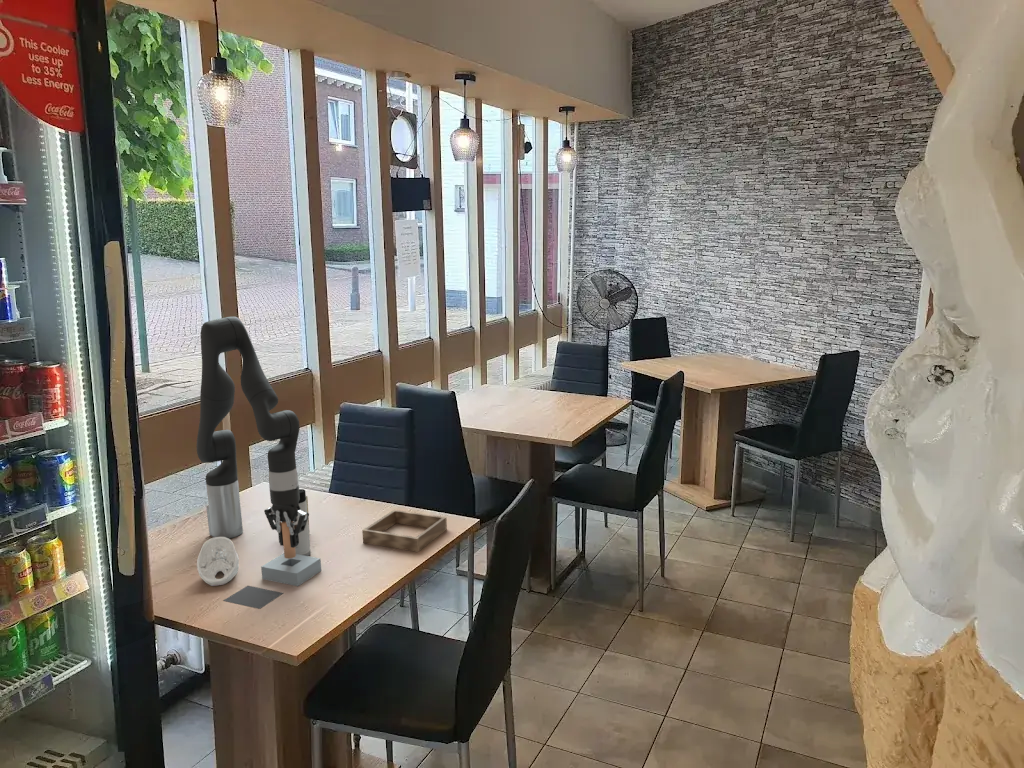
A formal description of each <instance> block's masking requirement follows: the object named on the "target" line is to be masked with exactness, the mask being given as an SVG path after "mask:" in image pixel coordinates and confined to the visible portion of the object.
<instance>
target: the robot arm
mask: <svg viewBox="0 0 1024 768" xmlns="http://www.w3.org/2000/svg"><path fill="white" fill-rule="evenodd" d="M201 325H202V326H201V328H200V349H201V350H200V351H201V381H200V382H201V383H200V394H199V397H200V398H199V401H200V402H199V406H200V411H199V412H200V413H199V424H198V430H197V438H196V454H197V458H198V459H199V460H200V462H202V463H203V464H204V463H205V464H209V463H216V462H221V461H222V462H221V463H220V464H219V465H218V466H216V467H214V469H212V470H210V471H209V472H207V473H206V475H205V485H206V494H207V495H206V496H207V502H208V505H206V515H207V516H206V517H207V525H208V533H209V534H208V535H209V536H211V537H212V538H215V537H226V538H228V539H232V538H236V537H238V536H240V535H242V534H243V533H244V527H243V526H244V525H243V516H242V508H241V497H240V487H239V486H240V485H239V478H238V465H237V464H238V463H237V445H236V438H235V436H234V433H233V431H231V429H222V430H217V431H215V430H216V428H217V427H218V426H219V424H221V422H222V421H223V420H224V419H225V417H226V416H228V414H229V413H230V411H231V410H232V408H233V406H234V403H235V392H236V389H235V388H236V387H235V386H236V385H235V383H234V380H233V378H231V376H230V374H228V372H227V371H226V370H225V369H224V368H223V366H221V364H220V362H219V361H220V360H219V357H220V355H221V354H223V353H228V352H233V351H235V350H238V352H239V354H240V355H241V359H242V367H241V373H240V386H241V390H242V392H243V395H244V396H245V397H246V400H247V401H248V403H249V404H250V406H251V408H252V412H253V415H254V418H255V424H256V428H257V432H258V434H259V436H260V437H261V438H262V439H263V440H265V441H267V442H274V441H277V440H279V442H278V443H277V444H276V445H275V446H273V447H271V448H270V449H268V451H267V462H268V463H267V464H268V465H267V466H268V487H269V496H270V498H269V499H270V503H271V506H270V507H268V508H266V509H264V515H265V517H266V519H267V522H268V523H269V526H270V528H271V530H272V531H274V530H275V531H276V533H278V534H277V535H278V542H279V545H280V547H281V546H282V547H284V546H283V535H282V524H281V522H283V521H285V522H286V524H287V527H289V531H290V534H291V535H290V543H291V547H292V548H294V547H296V546H297V545H298V544H299V536H298V534H299V533H300V532H302V531H304V530H305V526H306V523H307V520H308V517H309V516H310V513H309V511H308V512H306V513H304V512H302V511H301V509H300V506H299V500H300V495H299V489H300V483H299V475H298V469H297V463H296V449H297V444H298V440H299V433H300V420H299V418H298V416H297V414H296V412H294V411H292V410H289V409H288V410H287V409H284V410H282V411H277V412H272V413H271V412H270V411H272V410H273V409H274V408H276V407H277V405H278V404H279V397H278V395H277V393H276V391H275V390H274V389H273V387H272V385H271V384H270V381H269V380H268V378H267V376H266V374H265V373H264V370H263V368H262V365H261V363H260V361H259V357H258V355H257V353H256V350H255V347H254V345H253V343H252V341H251V337H250V335H249V333H248V331H247V329H246V327H245V325H244V323H243V322H242V320H241V319H240V318H238V317H237V316H226V317H222V318H217V319H211V320H208V321H206V322H204V323H203V324H201ZM309 518H310V517H309ZM292 521H293V522H292ZM291 522H292V523H291ZM293 526H294V527H293Z"/></svg>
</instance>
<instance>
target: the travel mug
mask: <svg viewBox="0 0 1024 768" xmlns="http://www.w3.org/2000/svg"><path fill="white" fill-rule="evenodd" d="M299 495H300V500H299V506H300V509H301V511H302V512H304V513H306V512H307V503H306V496H307V494H306V489H304V488H299ZM293 527H294V526H293ZM298 536H299V544H298V545H297V546H296V547H295V551H296V554H299V555H304V556H310V555H311V554H312V552H311V542H310V541H311V540H310V526H309V527H308V520H307V523H306V526H305V530H304V531H302V532H300V533H299V534H298Z"/></svg>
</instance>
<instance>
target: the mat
mask: <svg viewBox="0 0 1024 768" xmlns="http://www.w3.org/2000/svg"><path fill="white" fill-rule="evenodd" d="M282 595H284V592H283V591H282V592H281V591H276V590H271V589H267V588H262V587H256V586H252V585H246V586H245V587H243V588H240V589H239V590H238V591H237V592H235V593H233V594H232V595H230V596H228V597H227V598H225V599H223V600H222V601H223V602H227V603H230V604H236V605H240V606H245V607H249V608H253V609H258V610H261V609H263V608H264V607H265V606H266V605H268V604H270V603H271V602H273V601H274V600H276V599H277V598H279V597H280V596H282Z"/></svg>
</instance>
